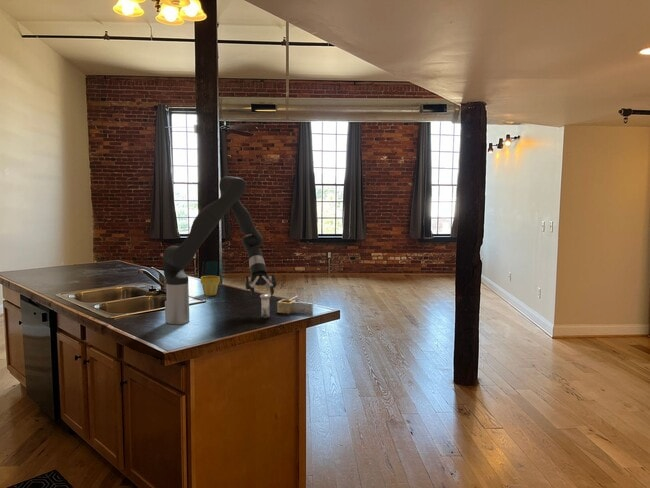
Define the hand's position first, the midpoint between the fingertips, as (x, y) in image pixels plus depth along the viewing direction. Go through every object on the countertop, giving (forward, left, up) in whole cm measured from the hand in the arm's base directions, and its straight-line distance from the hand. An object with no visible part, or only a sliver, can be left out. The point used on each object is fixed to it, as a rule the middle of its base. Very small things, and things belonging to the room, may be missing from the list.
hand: (263, 295), depth 224 cm
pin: (+3, -3, -9) cm, 10 cm away
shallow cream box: (+13, +14, -9) cm, 21 cm away
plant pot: (-48, +30, -9) cm, 57 cm away
